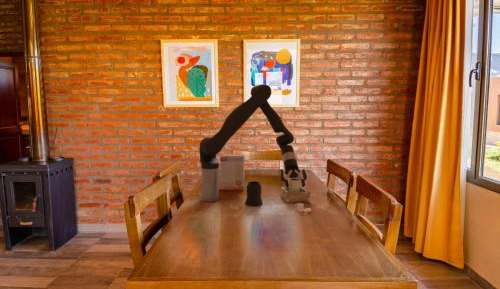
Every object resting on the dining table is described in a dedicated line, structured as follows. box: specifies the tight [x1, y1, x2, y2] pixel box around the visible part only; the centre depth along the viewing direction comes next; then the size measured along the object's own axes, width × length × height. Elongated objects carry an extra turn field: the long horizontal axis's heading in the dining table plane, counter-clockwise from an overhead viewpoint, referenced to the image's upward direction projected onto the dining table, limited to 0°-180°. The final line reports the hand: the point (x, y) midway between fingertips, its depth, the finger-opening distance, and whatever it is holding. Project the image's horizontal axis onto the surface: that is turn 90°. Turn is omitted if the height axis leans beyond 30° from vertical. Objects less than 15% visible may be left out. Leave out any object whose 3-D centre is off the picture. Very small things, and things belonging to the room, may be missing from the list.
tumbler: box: [288, 178, 301, 192], centre depth 172 cm, size 6×6×10 cm
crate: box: [280, 186, 311, 204], centre depth 172 cm, size 13×12×6 cm
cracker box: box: [219, 154, 246, 192], centre depth 192 cm, size 14×6×21 cm, turn 84°
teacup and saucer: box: [291, 203, 312, 215], centre depth 152 cm, size 9×8×4 cm
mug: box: [244, 180, 263, 208], centre depth 165 cm, size 12×9×11 cm
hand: (295, 186), depth 170 cm, fingers open, 8 cm apart
